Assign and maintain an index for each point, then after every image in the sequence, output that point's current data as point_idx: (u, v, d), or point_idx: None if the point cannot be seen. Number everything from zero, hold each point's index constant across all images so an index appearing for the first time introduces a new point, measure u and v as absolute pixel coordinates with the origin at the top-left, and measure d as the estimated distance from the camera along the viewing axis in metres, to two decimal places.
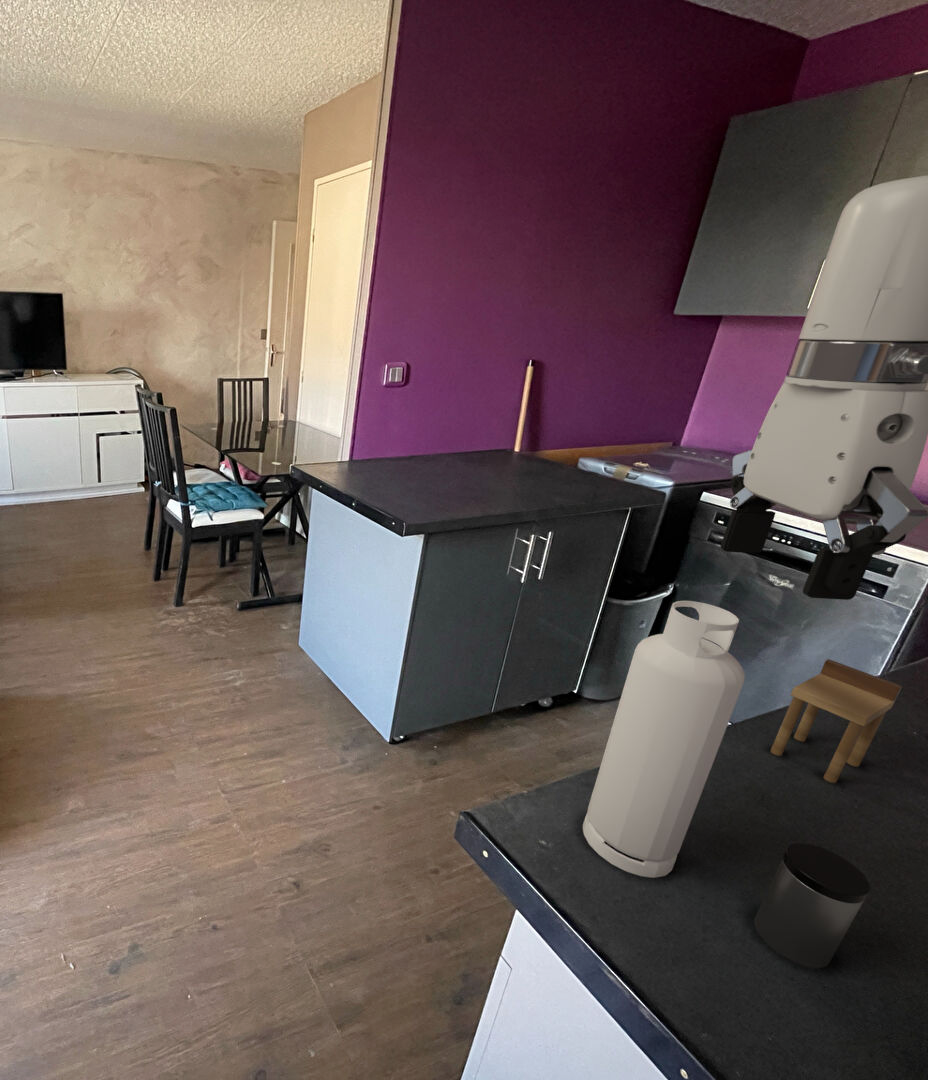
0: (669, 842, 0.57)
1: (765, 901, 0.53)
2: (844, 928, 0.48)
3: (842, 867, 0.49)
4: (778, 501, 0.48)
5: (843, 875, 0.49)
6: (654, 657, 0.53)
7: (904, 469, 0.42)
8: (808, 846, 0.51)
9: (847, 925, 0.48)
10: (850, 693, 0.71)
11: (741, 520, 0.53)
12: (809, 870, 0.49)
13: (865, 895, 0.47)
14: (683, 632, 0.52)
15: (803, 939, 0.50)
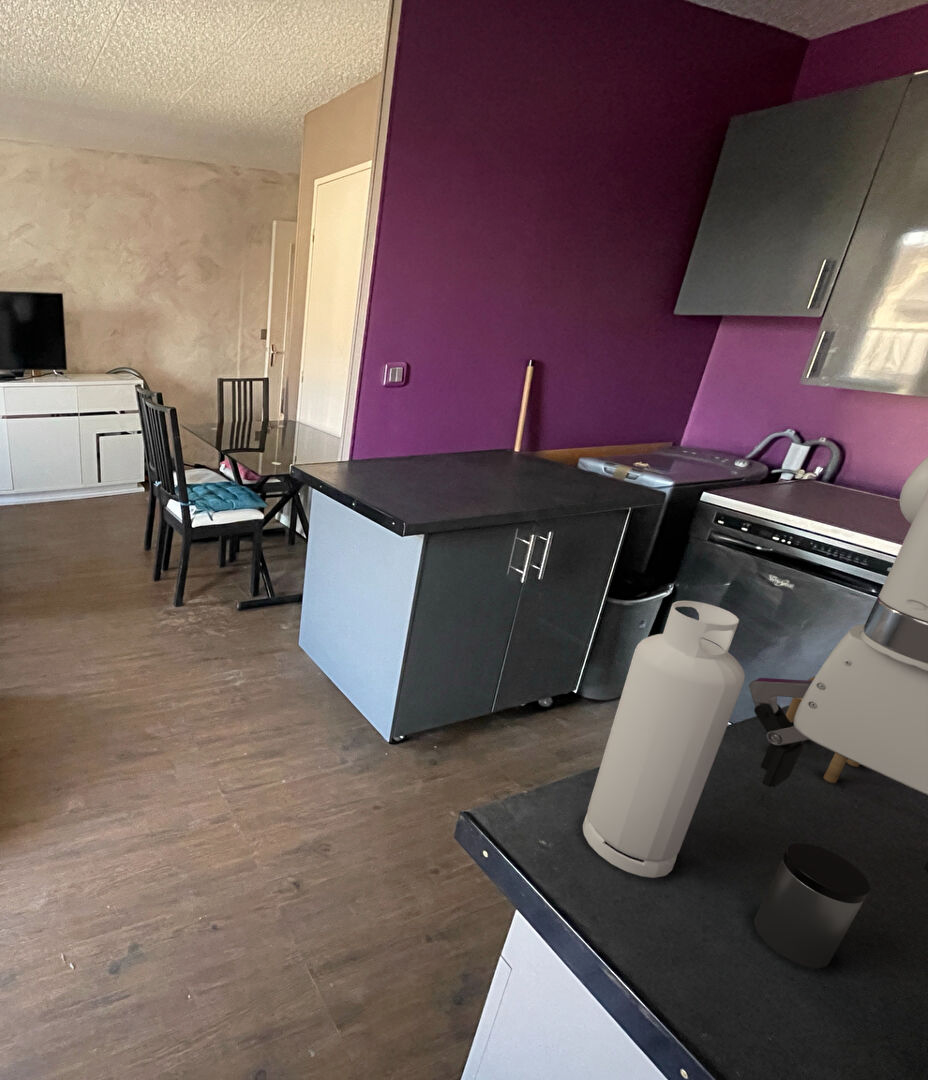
0: (669, 842, 0.57)
1: (765, 901, 0.53)
2: (844, 928, 0.48)
3: (842, 867, 0.49)
4: (869, 766, 0.44)
5: (843, 875, 0.49)
6: (654, 657, 0.53)
7: None
8: (808, 846, 0.51)
9: (847, 925, 0.48)
10: None
11: (787, 758, 0.50)
12: (809, 870, 0.49)
13: (865, 895, 0.47)
14: (683, 632, 0.52)
15: (803, 939, 0.50)
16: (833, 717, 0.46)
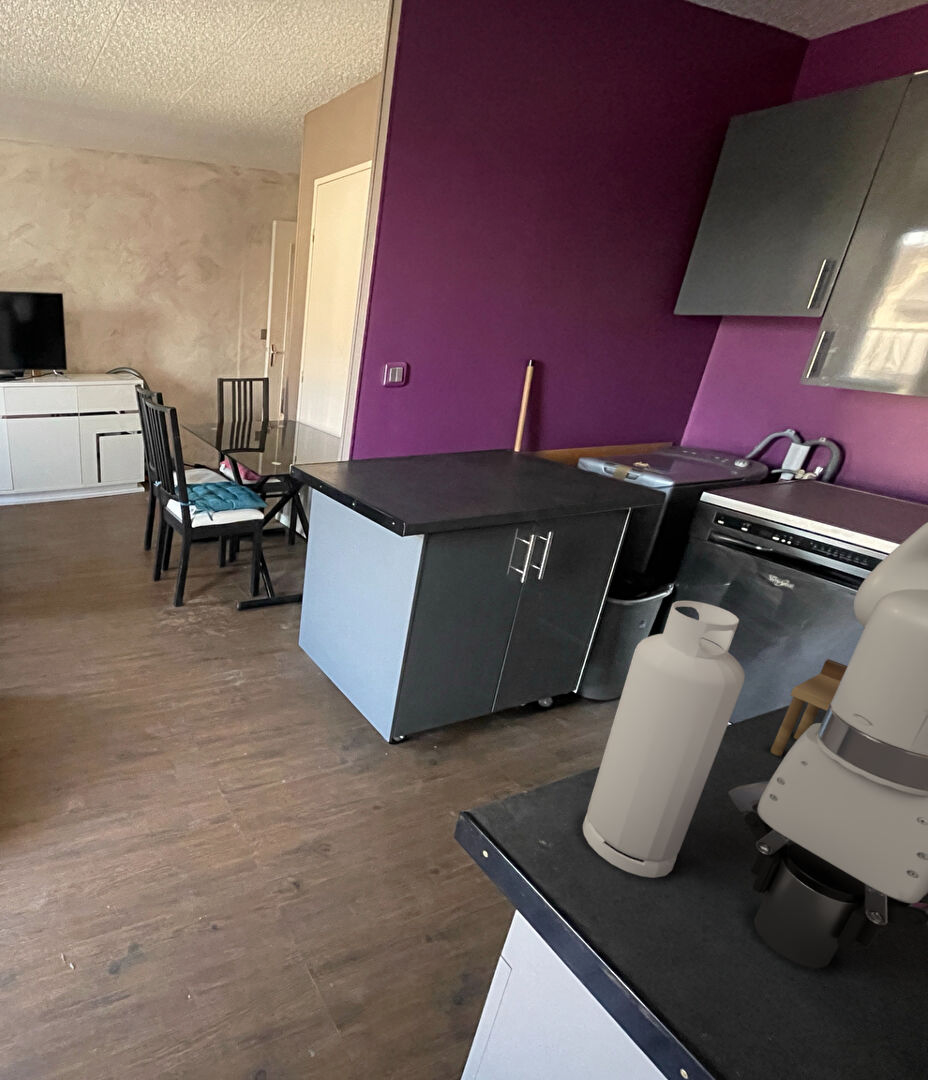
0: (669, 842, 0.57)
1: (765, 901, 0.53)
2: None
3: None
4: (824, 858, 0.48)
5: (843, 875, 0.49)
6: (654, 657, 0.53)
7: None
8: None
9: None
10: None
11: (775, 868, 0.52)
12: (809, 870, 0.49)
13: None
14: (683, 632, 0.52)
15: (803, 939, 0.50)
16: (792, 811, 0.49)
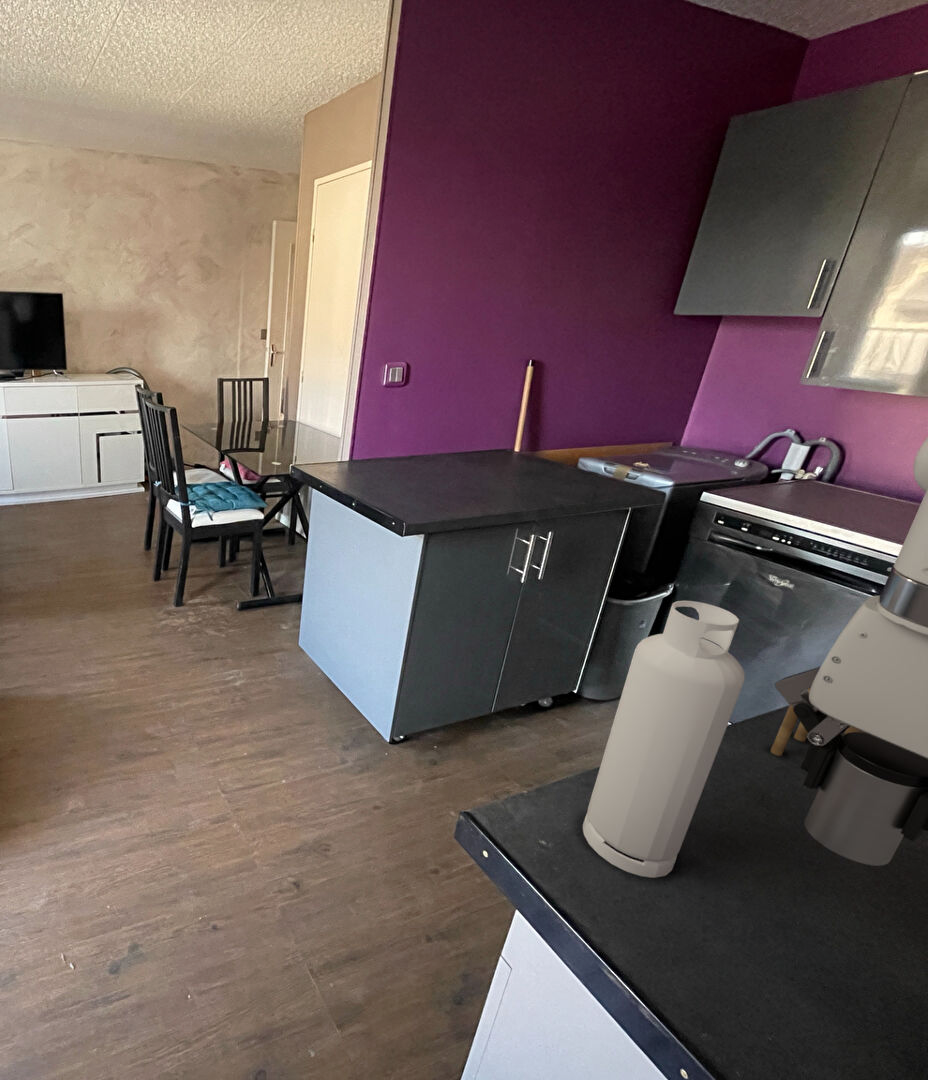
0: (669, 842, 0.57)
1: (818, 798, 0.48)
2: None
3: (905, 753, 0.45)
4: (887, 739, 0.44)
5: (907, 760, 0.44)
6: (654, 657, 0.53)
7: None
8: (865, 735, 0.47)
9: None
10: None
11: (829, 759, 0.48)
12: (869, 756, 0.45)
13: None
14: (683, 632, 0.52)
15: (863, 833, 0.46)
16: (849, 691, 0.45)
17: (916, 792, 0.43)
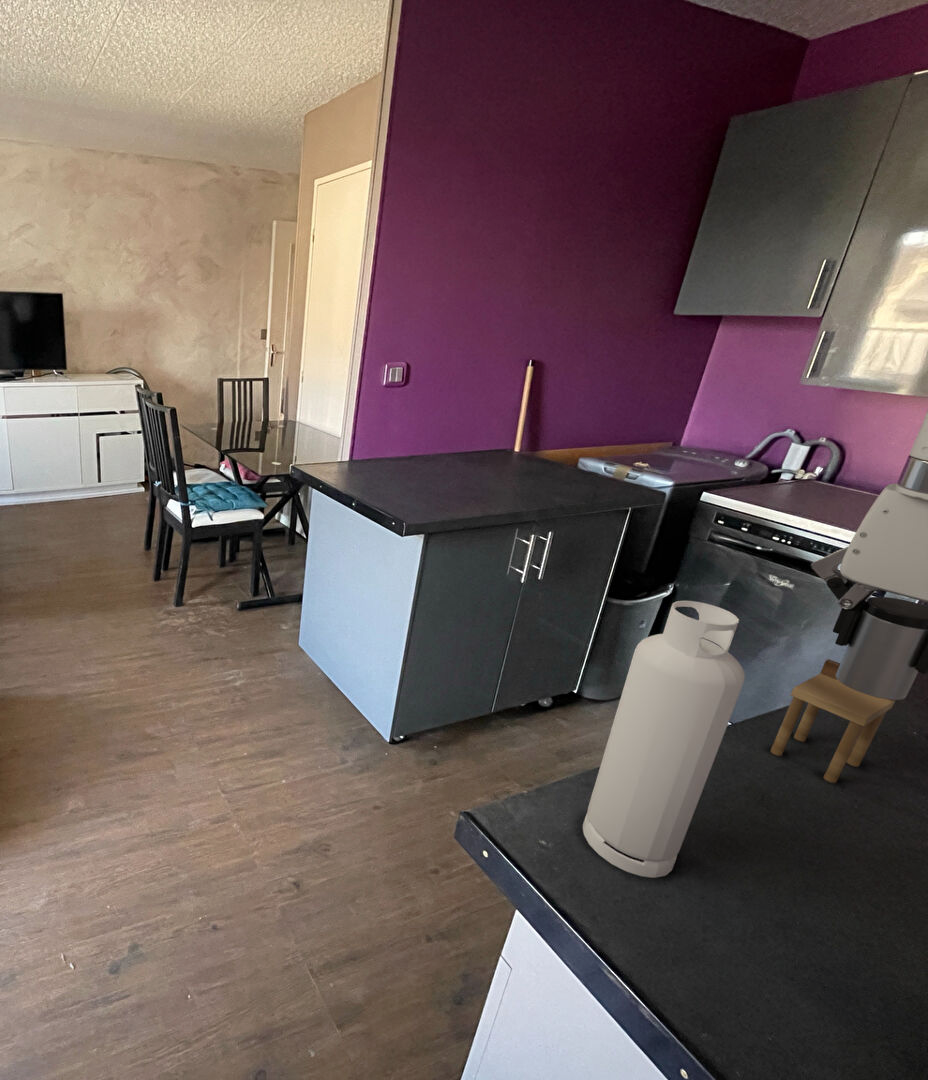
0: (669, 842, 0.57)
1: (847, 652, 0.60)
2: None
3: (918, 607, 0.57)
4: (905, 593, 0.55)
5: (920, 611, 0.56)
6: (654, 657, 0.53)
7: None
8: (885, 598, 0.59)
9: None
10: (850, 693, 0.71)
11: (857, 619, 0.59)
12: (890, 609, 0.57)
13: None
14: (683, 632, 0.52)
15: (885, 673, 0.57)
16: (874, 558, 0.57)
17: (927, 633, 0.55)
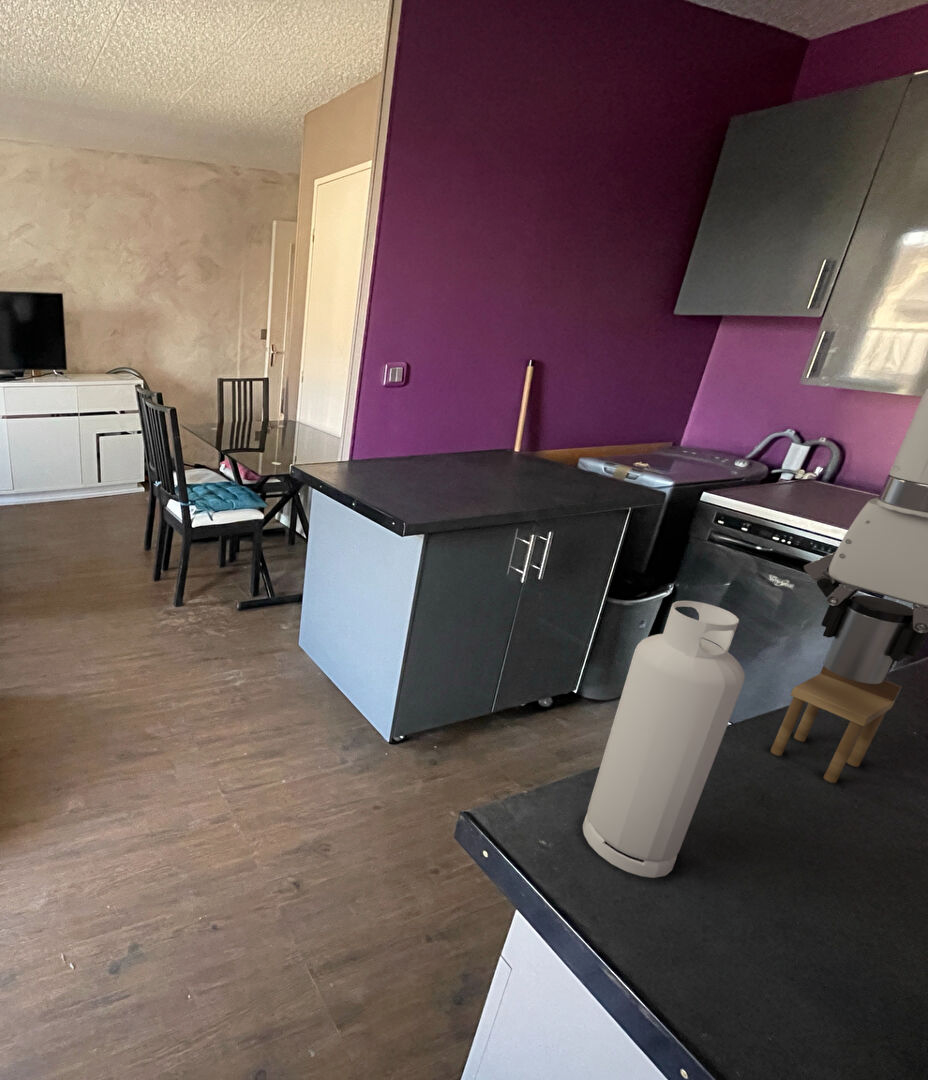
0: (669, 842, 0.57)
1: (833, 643, 0.70)
2: None
3: (894, 604, 0.66)
4: (882, 592, 0.65)
5: (895, 608, 0.66)
6: (654, 657, 0.53)
7: None
8: (867, 596, 0.68)
9: None
10: (850, 693, 0.71)
11: (842, 614, 0.69)
12: (870, 606, 0.66)
13: None
14: (682, 632, 0.52)
15: (864, 660, 0.67)
16: (857, 562, 0.66)
17: (901, 627, 0.64)
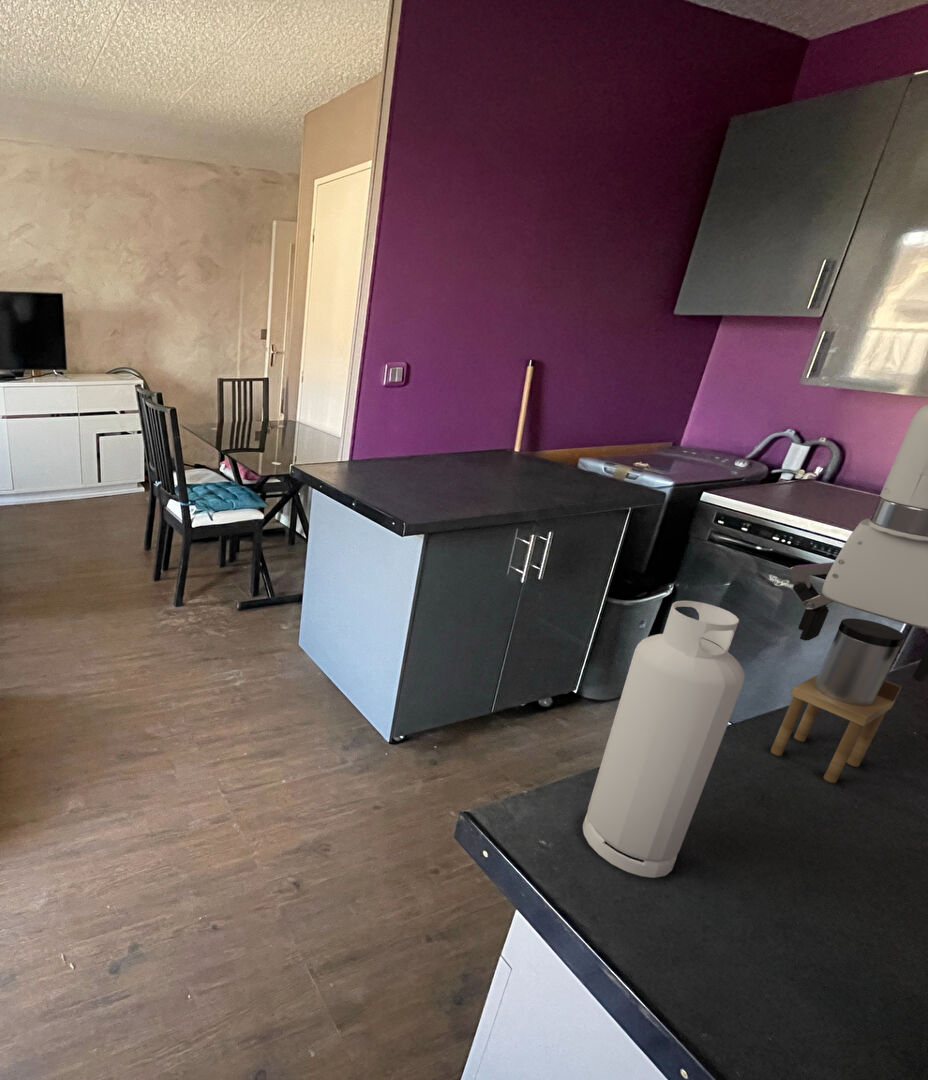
0: (669, 842, 0.57)
1: (824, 665, 0.71)
2: (885, 669, 0.66)
3: (883, 628, 0.67)
4: (875, 612, 0.66)
5: (884, 631, 0.67)
6: (654, 657, 0.53)
7: None
8: (857, 619, 0.69)
9: (887, 667, 0.66)
10: None
11: (817, 618, 0.71)
12: (859, 629, 0.67)
13: (901, 640, 0.65)
14: (683, 632, 0.52)
15: (855, 683, 0.68)
16: (850, 582, 0.67)
17: (890, 650, 0.66)
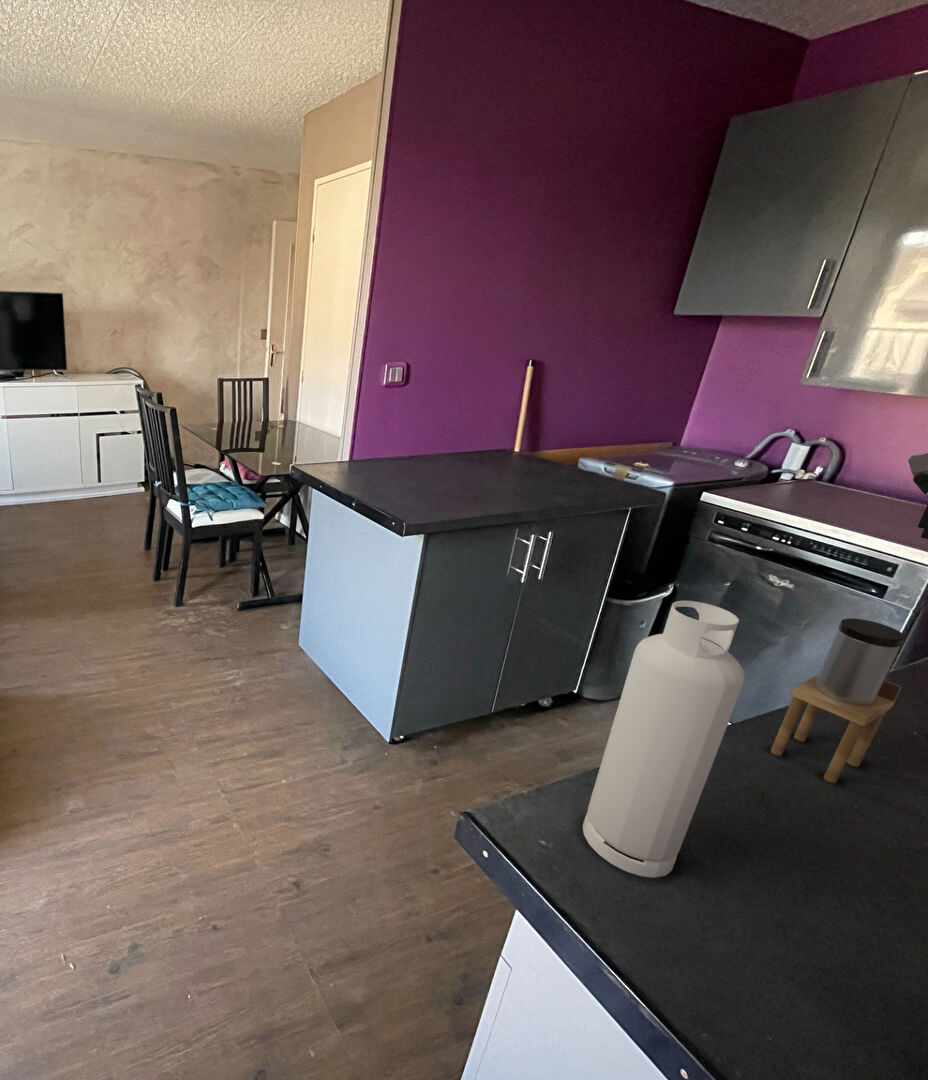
0: (669, 842, 0.57)
1: (824, 665, 0.71)
2: (885, 669, 0.66)
3: (883, 628, 0.67)
4: None
5: (884, 631, 0.67)
6: (654, 657, 0.53)
7: None
8: (857, 619, 0.69)
9: (887, 667, 0.66)
10: None
11: None
12: (859, 629, 0.67)
13: (901, 640, 0.65)
14: (683, 632, 0.52)
15: (855, 683, 0.68)
16: None
17: (890, 650, 0.66)
